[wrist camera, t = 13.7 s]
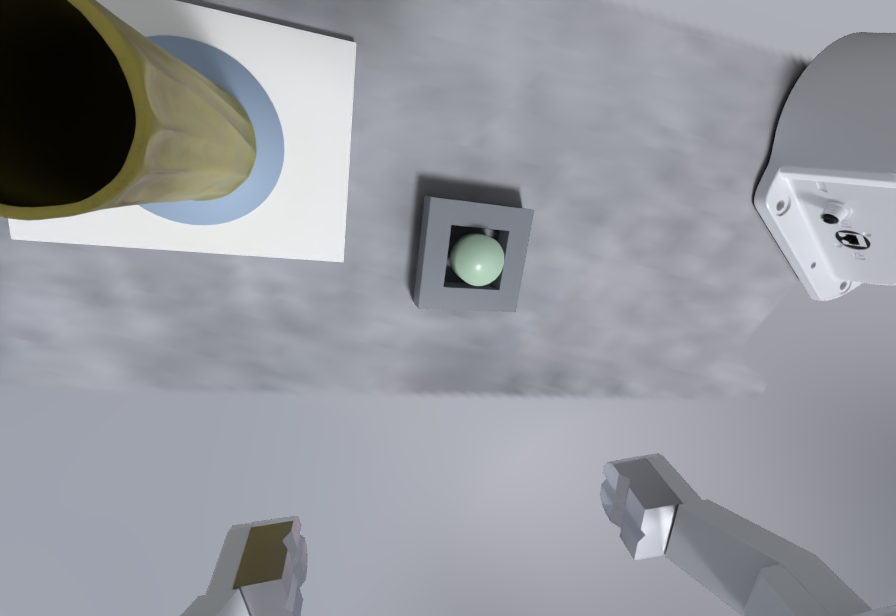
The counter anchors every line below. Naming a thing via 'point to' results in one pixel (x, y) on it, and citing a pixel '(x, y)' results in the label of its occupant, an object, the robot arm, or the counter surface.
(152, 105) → the vase
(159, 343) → the counter surface
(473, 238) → the button
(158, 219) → the paper pad
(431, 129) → the counter surface
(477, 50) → the counter surface
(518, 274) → the button collar
